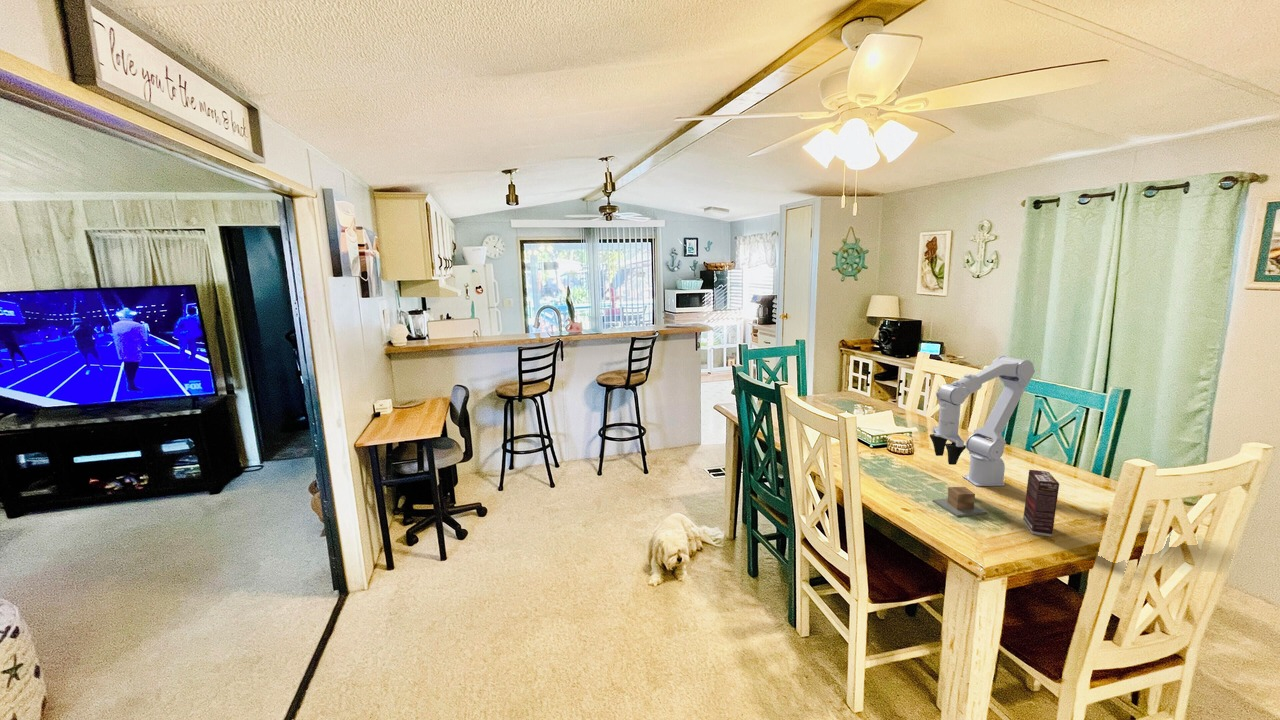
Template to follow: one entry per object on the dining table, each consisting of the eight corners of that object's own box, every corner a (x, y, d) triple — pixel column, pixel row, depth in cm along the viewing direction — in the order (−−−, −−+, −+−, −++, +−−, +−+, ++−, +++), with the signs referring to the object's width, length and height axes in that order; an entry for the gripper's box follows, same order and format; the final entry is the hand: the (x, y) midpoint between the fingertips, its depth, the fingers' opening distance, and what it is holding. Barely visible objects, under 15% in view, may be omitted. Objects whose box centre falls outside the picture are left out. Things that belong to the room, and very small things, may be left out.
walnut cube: (963, 501, 155) (964, 486, 154) (973, 509, 150) (975, 494, 150) (947, 501, 156) (948, 487, 155) (956, 509, 151) (958, 494, 150)
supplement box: (1053, 537, 135) (1060, 483, 132) (1031, 534, 137) (1038, 481, 134) (1042, 522, 143) (1049, 471, 140) (1022, 519, 145) (1028, 468, 142)
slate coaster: (961, 498, 159) (961, 496, 159) (986, 513, 149) (987, 511, 149) (932, 501, 157) (933, 499, 157) (957, 516, 148) (957, 514, 148)
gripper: (924, 414, 170) (921, 452, 172) (949, 428, 156) (945, 468, 158) (945, 414, 169) (942, 451, 172) (972, 427, 155) (968, 468, 158)
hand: (945, 459), depth 165 cm, fingers open, 7 cm apart
